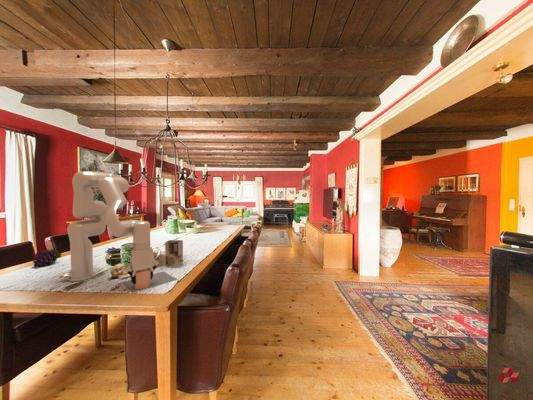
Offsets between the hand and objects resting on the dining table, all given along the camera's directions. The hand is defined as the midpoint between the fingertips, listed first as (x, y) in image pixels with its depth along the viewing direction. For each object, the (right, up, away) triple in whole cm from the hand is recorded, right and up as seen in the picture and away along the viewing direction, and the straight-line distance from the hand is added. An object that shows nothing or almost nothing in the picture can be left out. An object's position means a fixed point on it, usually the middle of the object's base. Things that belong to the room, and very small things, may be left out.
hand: (142, 280), depth 113 cm
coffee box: (+3, -2, +33) cm, 33 cm away
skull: (-19, -3, +13) cm, 23 cm away
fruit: (-80, -2, +33) cm, 86 cm away
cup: (0, -3, 0) cm, 3 cm away
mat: (0, -3, +7) cm, 7 cm away
